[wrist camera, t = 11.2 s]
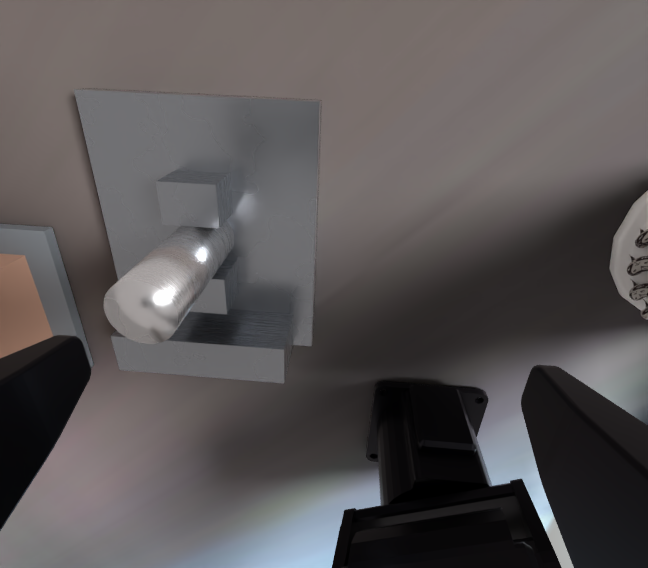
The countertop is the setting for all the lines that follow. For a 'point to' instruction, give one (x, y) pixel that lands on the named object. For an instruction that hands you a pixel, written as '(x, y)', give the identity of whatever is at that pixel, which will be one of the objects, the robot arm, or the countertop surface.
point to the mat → (46, 276)
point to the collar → (19, 307)
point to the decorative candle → (632, 256)
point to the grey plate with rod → (207, 228)
